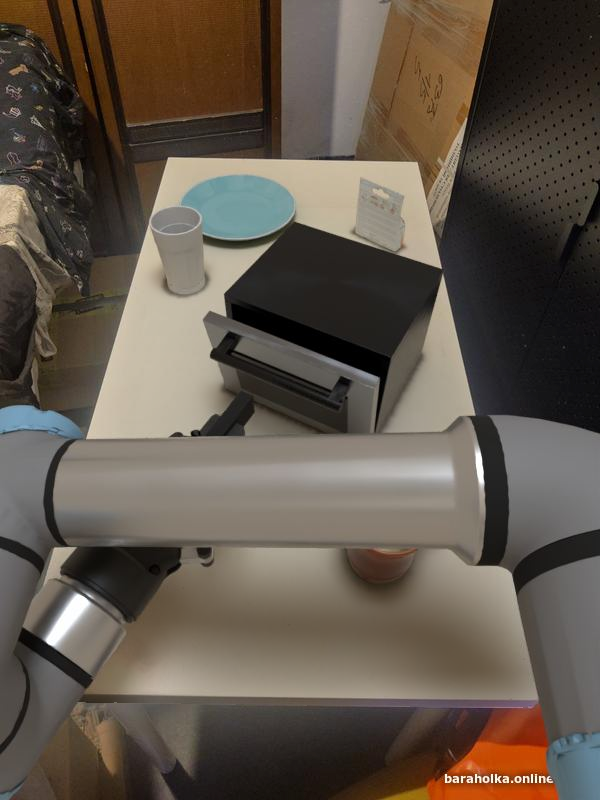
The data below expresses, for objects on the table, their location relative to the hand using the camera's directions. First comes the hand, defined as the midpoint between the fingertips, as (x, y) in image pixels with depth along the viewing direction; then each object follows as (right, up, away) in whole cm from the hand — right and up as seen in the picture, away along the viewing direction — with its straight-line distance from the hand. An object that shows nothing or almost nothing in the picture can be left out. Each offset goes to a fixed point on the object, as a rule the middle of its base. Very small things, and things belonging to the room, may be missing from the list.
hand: (247, 401), depth 57 cm
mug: (+16, -17, +6) cm, 24 cm away
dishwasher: (+10, +5, +24) cm, 26 cm away
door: (+4, -3, +17) cm, 18 cm away
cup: (-14, +20, +36) cm, 43 cm away
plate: (-6, +36, +49) cm, 61 cm away
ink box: (+20, +30, +44) cm, 57 cm away
